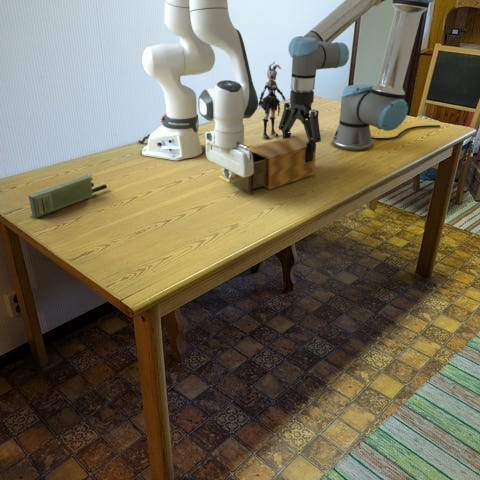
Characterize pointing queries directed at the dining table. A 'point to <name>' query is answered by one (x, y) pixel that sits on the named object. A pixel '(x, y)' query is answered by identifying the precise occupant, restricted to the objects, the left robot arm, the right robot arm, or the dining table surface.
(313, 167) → the cabinet
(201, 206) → the dining table surface
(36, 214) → the handheld radio
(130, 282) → the dining table surface
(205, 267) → the dining table surface
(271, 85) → the figurine
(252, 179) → the drawer
